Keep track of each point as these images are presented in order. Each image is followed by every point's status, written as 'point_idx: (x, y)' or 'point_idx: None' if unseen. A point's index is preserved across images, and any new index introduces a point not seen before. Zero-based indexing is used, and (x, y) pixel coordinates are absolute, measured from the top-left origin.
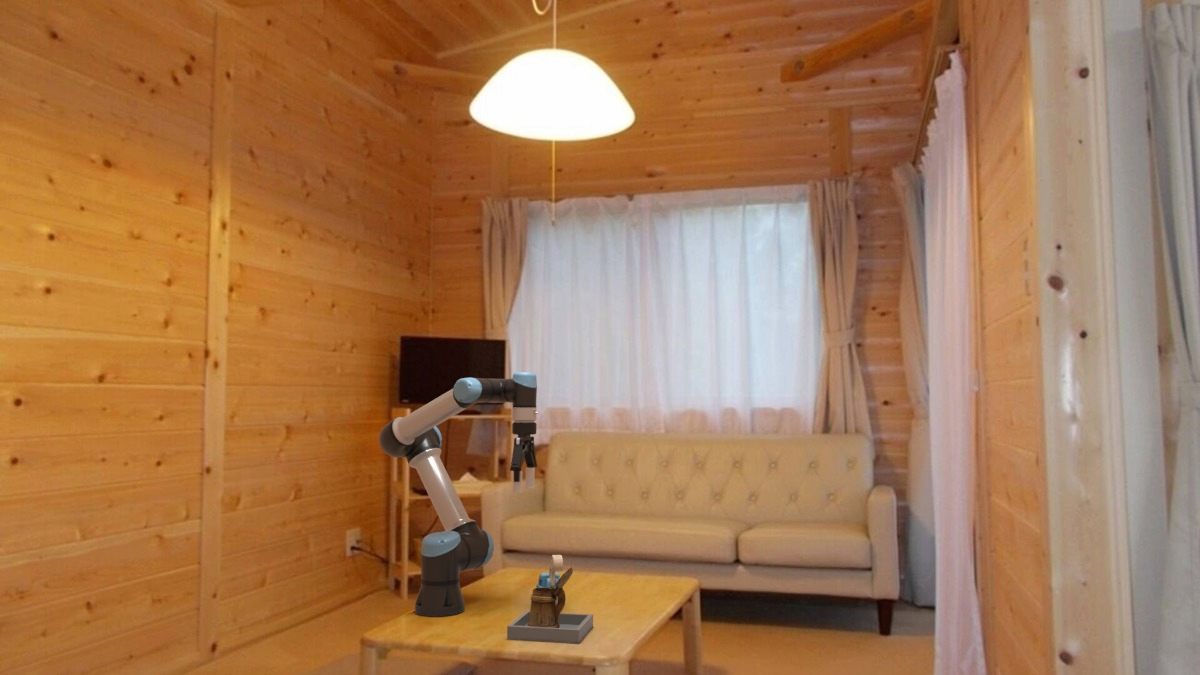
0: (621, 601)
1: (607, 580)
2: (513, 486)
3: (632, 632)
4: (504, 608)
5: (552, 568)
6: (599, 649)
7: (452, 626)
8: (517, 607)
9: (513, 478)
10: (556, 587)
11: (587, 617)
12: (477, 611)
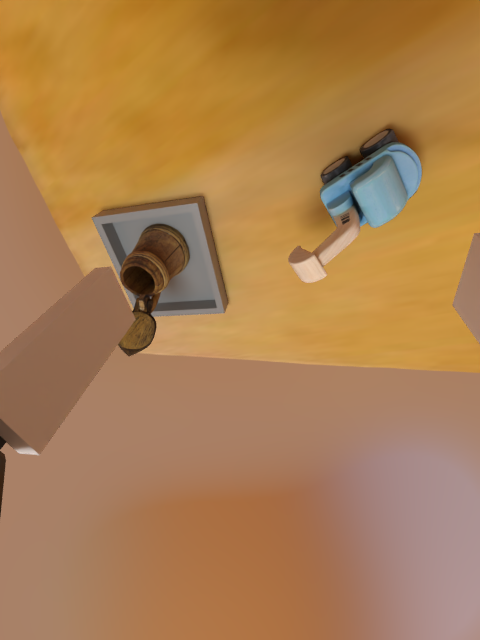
0: (418, 302)
1: None
2: (70, 296)
3: (223, 348)
4: (310, 75)
5: (298, 248)
6: None
7: (104, 39)
8: (328, 108)
9: (21, 339)
10: (133, 310)
11: (203, 310)
12: (256, 7)
